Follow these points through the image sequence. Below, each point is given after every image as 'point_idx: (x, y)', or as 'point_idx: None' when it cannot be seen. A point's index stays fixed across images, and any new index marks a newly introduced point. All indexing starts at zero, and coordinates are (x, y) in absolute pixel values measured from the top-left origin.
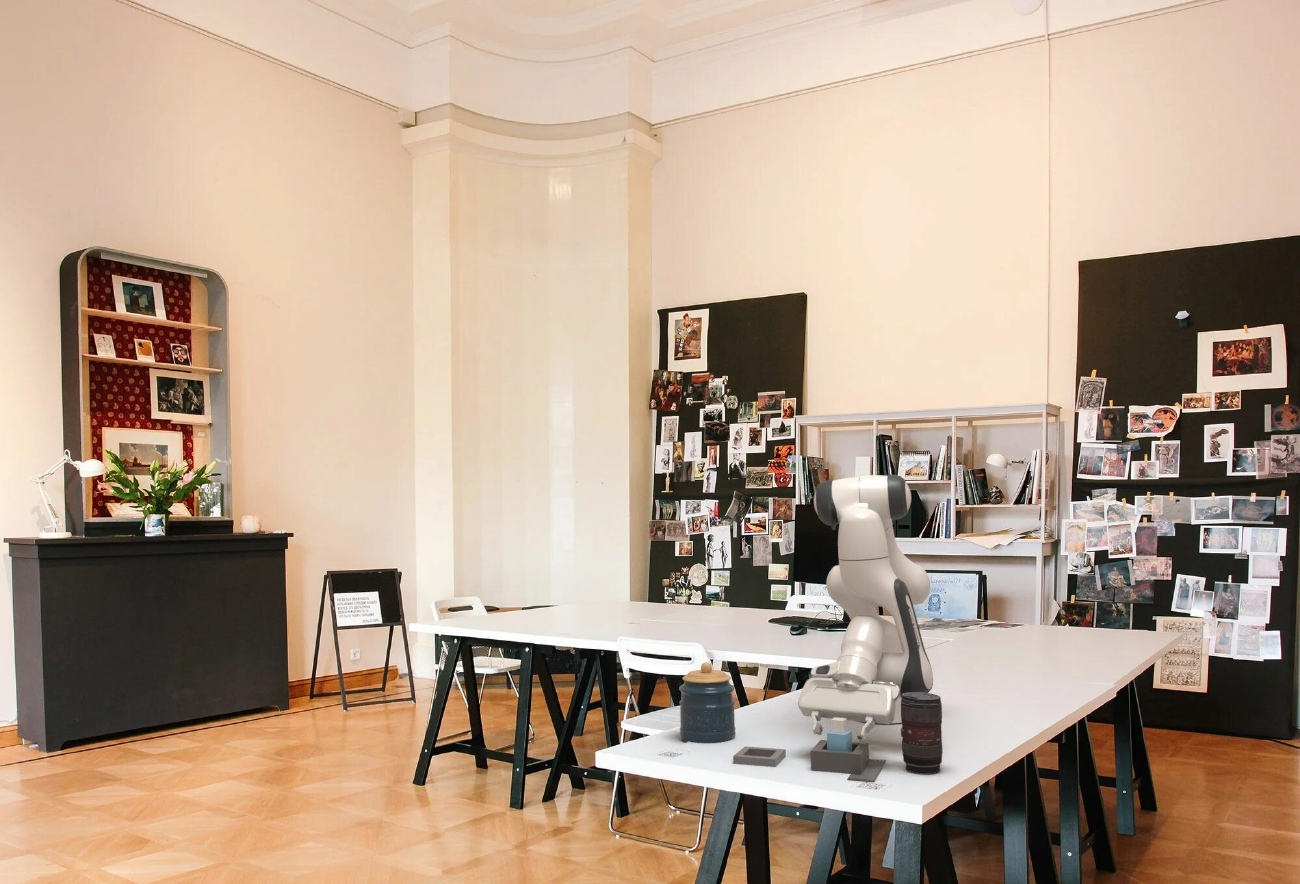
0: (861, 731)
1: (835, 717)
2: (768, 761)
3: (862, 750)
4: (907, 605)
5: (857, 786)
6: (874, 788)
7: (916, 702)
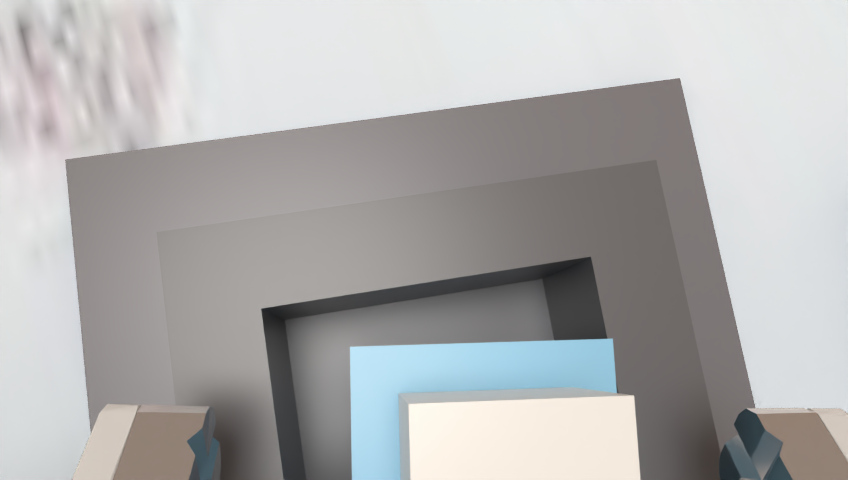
0: (126, 438)
1: None
2: None
3: (184, 405)
4: None
5: (162, 14)
6: (32, 15)
7: None
